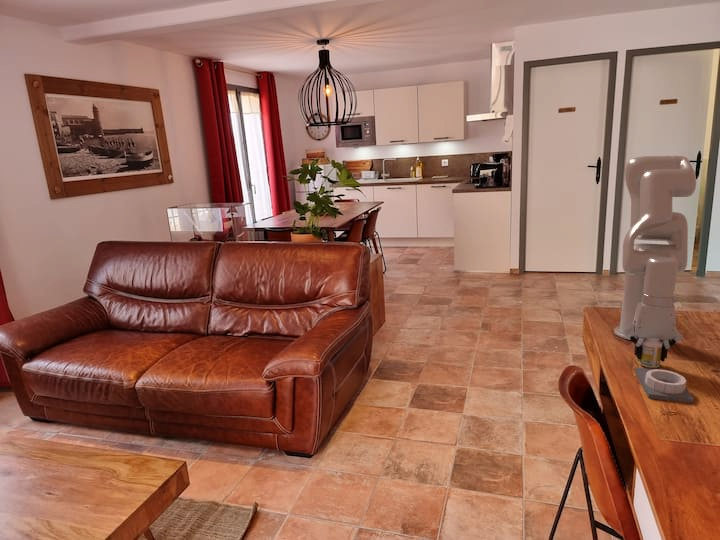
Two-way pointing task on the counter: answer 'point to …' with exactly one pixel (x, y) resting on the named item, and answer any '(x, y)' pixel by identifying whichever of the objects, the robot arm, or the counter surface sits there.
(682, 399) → the collar board
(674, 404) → the counter surface
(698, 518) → the counter surface
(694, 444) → the counter surface
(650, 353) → the supplement bottle
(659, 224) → the robot arm
